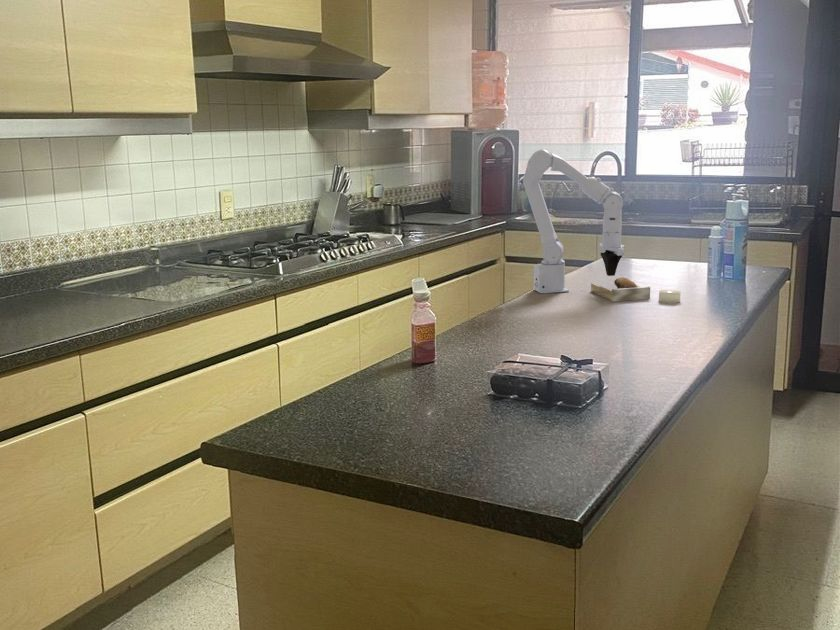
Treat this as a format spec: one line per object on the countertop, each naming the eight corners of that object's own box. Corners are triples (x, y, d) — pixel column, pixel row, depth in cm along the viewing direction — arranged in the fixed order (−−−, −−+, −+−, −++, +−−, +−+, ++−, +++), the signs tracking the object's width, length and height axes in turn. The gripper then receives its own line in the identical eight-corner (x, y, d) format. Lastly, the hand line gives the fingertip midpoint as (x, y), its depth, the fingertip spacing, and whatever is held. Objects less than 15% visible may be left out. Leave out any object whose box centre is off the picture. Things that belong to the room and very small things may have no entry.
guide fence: (613, 301, 251) (613, 289, 250) (591, 291, 267) (591, 280, 267) (649, 298, 253) (650, 287, 252) (625, 288, 269) (626, 277, 269)
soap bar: (664, 304, 246) (664, 293, 245) (655, 300, 251) (655, 290, 251) (683, 303, 247) (684, 292, 246) (674, 298, 252) (674, 289, 252)
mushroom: (606, 288, 255) (618, 270, 254) (609, 293, 262) (620, 276, 262) (628, 302, 252) (641, 284, 251) (631, 307, 259) (643, 290, 259)
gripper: (634, 234, 256) (632, 278, 259) (614, 228, 270) (613, 270, 273) (612, 235, 255) (610, 279, 258) (593, 229, 269) (592, 272, 272)
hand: (610, 275), depth 266 cm, fingers closed
